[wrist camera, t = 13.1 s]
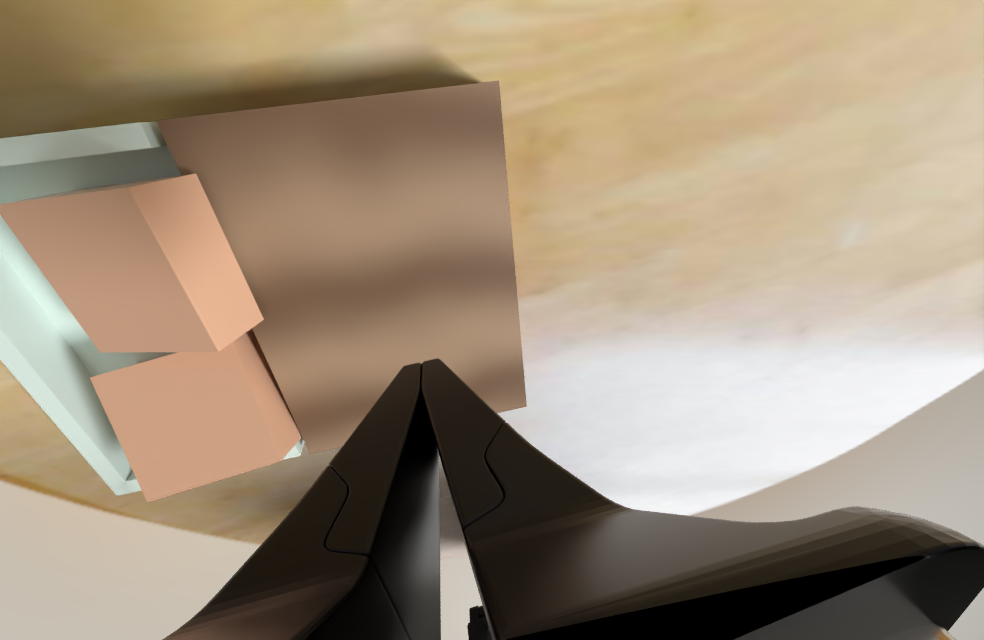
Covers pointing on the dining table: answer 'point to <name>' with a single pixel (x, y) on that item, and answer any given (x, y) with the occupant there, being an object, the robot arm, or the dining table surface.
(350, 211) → the board
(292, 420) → the tile
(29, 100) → the dining table surface
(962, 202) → the dining table surface
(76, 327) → the tray
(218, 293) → the tile
